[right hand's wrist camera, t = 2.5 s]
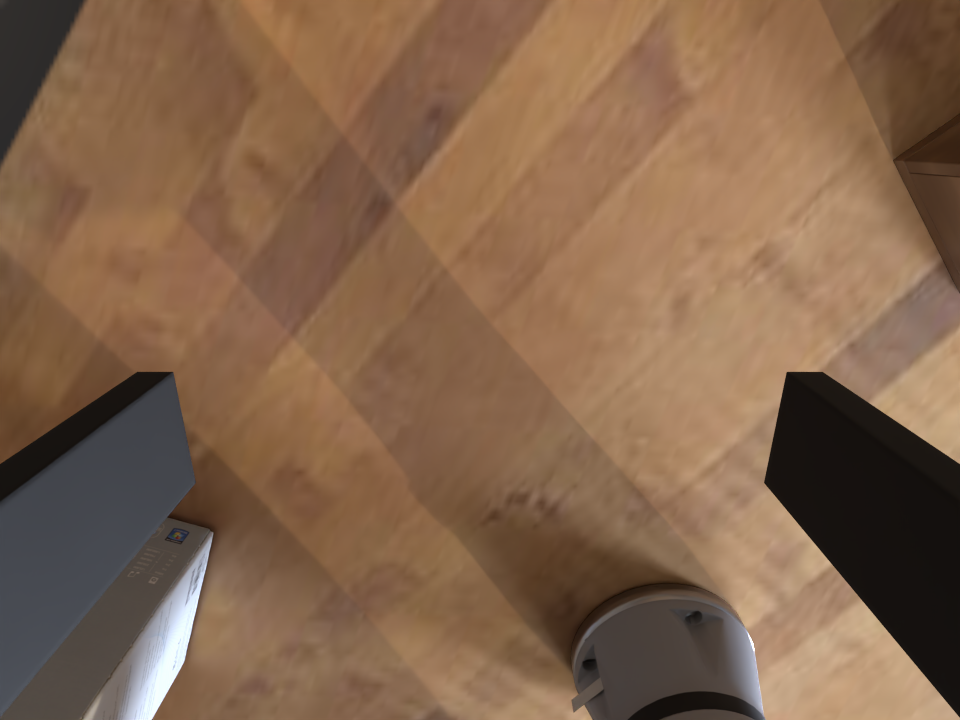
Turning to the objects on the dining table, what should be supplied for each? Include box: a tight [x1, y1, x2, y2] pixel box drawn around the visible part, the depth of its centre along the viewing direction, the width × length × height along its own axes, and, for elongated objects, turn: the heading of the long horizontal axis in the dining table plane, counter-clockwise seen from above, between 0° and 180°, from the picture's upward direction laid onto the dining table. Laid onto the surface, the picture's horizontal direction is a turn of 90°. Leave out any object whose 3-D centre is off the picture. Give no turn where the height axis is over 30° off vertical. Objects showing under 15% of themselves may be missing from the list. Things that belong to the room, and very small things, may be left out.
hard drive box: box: [0, 518, 214, 720], centre depth 38 cm, size 16×8×20 cm, turn 161°
